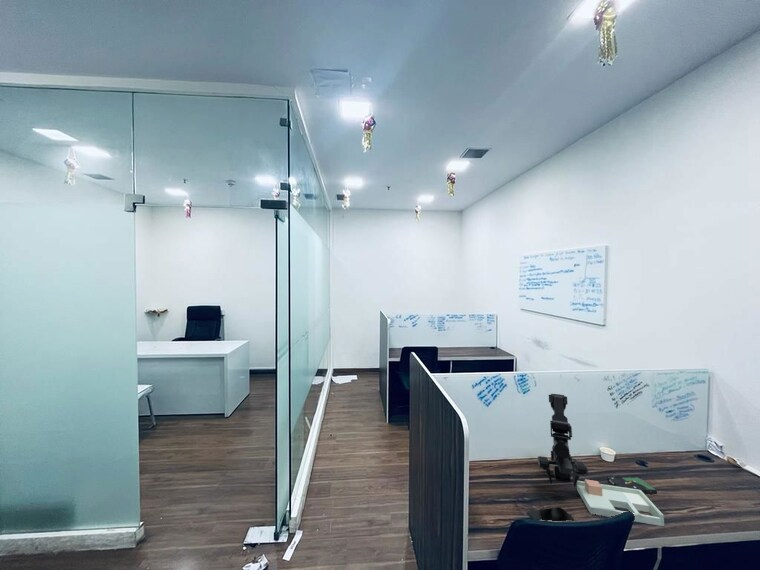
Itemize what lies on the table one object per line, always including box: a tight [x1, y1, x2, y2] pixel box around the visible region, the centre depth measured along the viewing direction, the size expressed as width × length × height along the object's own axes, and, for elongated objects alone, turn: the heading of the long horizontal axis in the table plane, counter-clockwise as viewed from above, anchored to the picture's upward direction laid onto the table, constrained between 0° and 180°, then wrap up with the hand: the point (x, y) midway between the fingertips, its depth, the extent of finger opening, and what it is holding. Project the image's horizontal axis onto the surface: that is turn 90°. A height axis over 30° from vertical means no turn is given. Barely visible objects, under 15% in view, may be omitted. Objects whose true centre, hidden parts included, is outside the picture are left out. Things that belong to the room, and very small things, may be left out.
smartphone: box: [526, 506, 575, 522], centre depth 121 cm, size 8×1×16 cm
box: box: [576, 480, 665, 527], centre depth 127 cm, size 24×17×4 cm
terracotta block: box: [584, 479, 603, 496], centre depth 133 cm, size 5×5×4 cm
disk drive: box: [607, 476, 658, 496], centre depth 140 cm, size 10×3×15 cm
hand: (562, 484), depth 136 cm, fingers open, 9 cm apart
